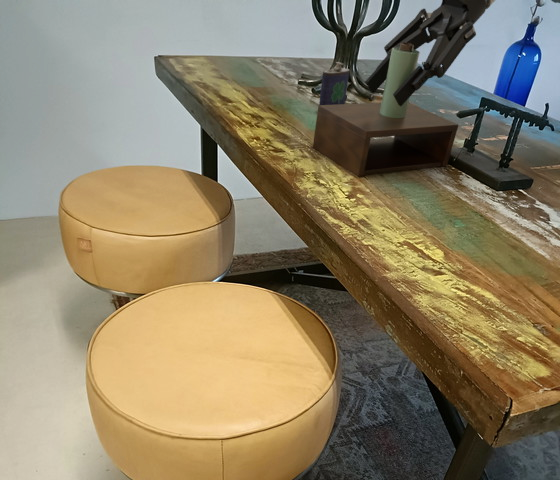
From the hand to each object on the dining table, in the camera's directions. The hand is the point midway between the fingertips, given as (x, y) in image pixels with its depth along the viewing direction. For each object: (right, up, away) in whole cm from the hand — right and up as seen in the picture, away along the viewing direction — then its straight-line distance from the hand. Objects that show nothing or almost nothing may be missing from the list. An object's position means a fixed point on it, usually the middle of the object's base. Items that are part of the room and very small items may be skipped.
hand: (382, 93), depth 105 cm
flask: (-7, +11, +31) cm, 34 cm away
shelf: (+1, -8, +9) cm, 12 cm away
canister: (+3, -2, +4) cm, 5 cm away
